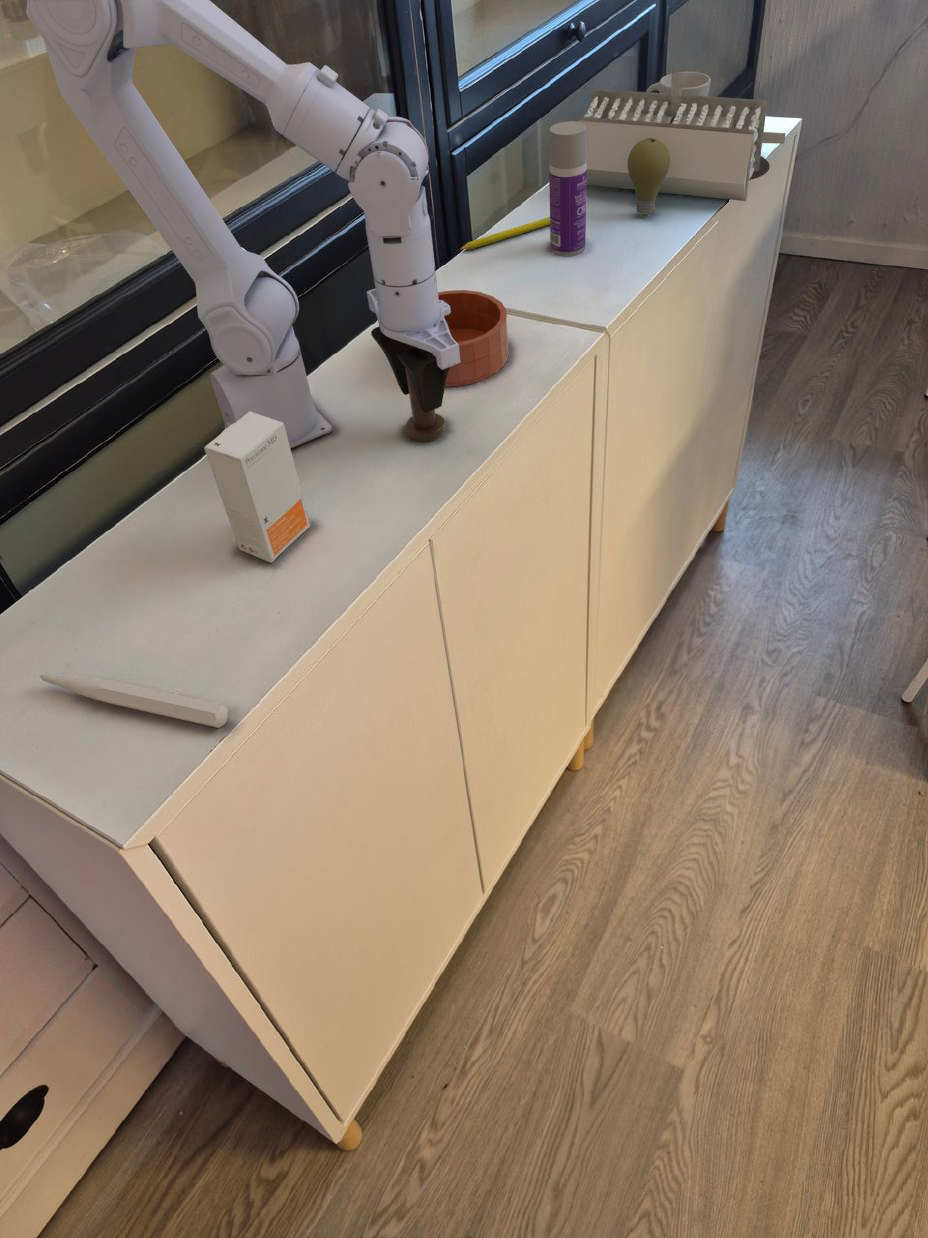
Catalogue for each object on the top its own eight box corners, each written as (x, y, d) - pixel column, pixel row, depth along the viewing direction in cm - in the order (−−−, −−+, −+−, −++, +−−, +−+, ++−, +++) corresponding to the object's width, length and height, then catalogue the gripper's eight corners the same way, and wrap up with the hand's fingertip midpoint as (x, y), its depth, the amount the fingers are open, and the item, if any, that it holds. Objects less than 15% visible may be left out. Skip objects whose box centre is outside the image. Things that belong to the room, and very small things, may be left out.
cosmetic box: (272, 565, 83) (238, 460, 74) (238, 550, 85) (200, 446, 76) (313, 525, 86) (285, 421, 77) (279, 512, 88) (248, 408, 79)
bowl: (436, 399, 99) (431, 359, 95) (383, 352, 106) (376, 313, 103) (529, 360, 103) (528, 320, 99) (471, 318, 110) (468, 279, 106)
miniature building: (779, 172, 127) (762, 219, 124) (595, 154, 136) (573, 198, 132) (793, 79, 116) (774, 128, 112) (590, 67, 125) (566, 112, 121)
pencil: (565, 221, 127) (561, 215, 127) (566, 216, 126) (563, 210, 126) (460, 254, 122) (457, 248, 123) (461, 249, 121) (458, 243, 122)
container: (583, 256, 119) (585, 134, 108) (548, 255, 120) (546, 135, 109) (587, 240, 122) (589, 120, 111) (552, 239, 123) (551, 120, 112)
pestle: (419, 446, 93) (409, 379, 87) (400, 428, 96) (389, 362, 90) (452, 432, 94) (444, 365, 89) (432, 415, 97) (424, 348, 91)
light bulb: (672, 210, 126) (678, 134, 118) (655, 227, 123) (661, 149, 115) (635, 204, 128) (639, 128, 121) (618, 220, 125) (621, 144, 118)
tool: (46, 661, 75) (46, 684, 75) (31, 666, 73) (31, 689, 74) (232, 702, 71) (231, 726, 71) (221, 708, 69) (219, 733, 69)
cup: (698, 150, 139) (704, 89, 132) (635, 146, 142) (638, 86, 136) (709, 132, 143) (716, 72, 137) (647, 128, 146) (651, 69, 140)
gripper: (483, 287, 79) (492, 417, 89) (404, 232, 88) (420, 356, 98) (414, 313, 77) (431, 443, 87) (339, 254, 86) (363, 378, 96)
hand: (421, 399), depth 92 cm, fingers open, 3 cm apart
